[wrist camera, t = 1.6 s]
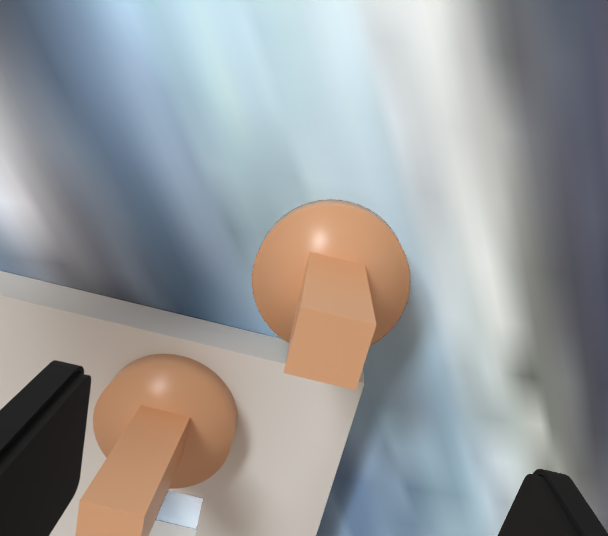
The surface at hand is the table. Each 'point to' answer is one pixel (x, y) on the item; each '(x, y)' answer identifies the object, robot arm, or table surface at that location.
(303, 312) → the dome with square post
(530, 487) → the robot arm
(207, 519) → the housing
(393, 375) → the table surface
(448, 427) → the table surface
